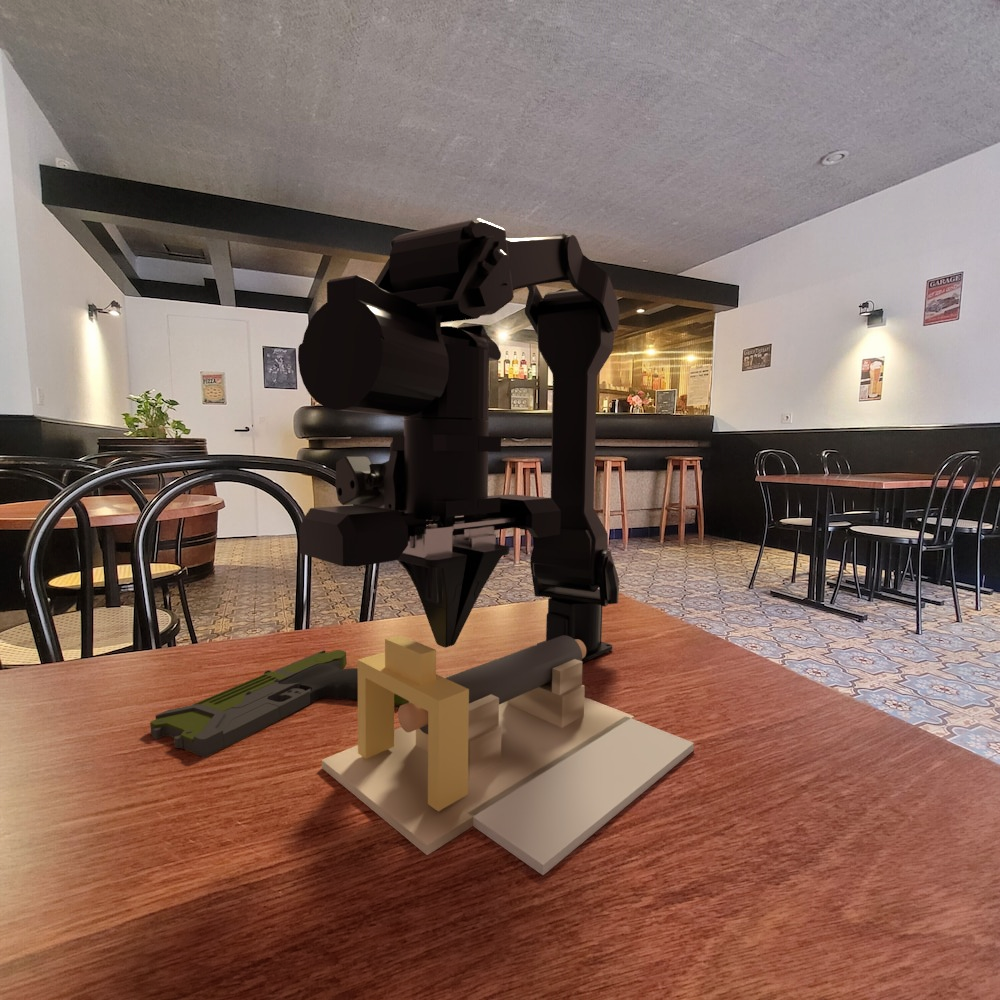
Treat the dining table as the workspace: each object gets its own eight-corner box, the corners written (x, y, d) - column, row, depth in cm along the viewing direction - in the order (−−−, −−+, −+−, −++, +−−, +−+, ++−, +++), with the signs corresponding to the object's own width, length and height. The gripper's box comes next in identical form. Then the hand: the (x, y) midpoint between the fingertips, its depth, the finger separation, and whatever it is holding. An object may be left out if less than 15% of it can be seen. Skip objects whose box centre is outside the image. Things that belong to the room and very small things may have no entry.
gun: (269, 801, 37) (141, 745, 44) (435, 690, 53) (323, 663, 60) (267, 764, 36) (139, 714, 44) (435, 665, 53) (322, 641, 60)
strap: (386, 741, 41) (386, 624, 41) (467, 794, 35) (469, 657, 34) (357, 753, 40) (357, 632, 39) (438, 811, 33) (439, 668, 33)
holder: (527, 680, 55) (528, 629, 54) (633, 723, 47) (636, 663, 46) (321, 767, 39) (321, 697, 39) (427, 855, 31) (427, 766, 30)
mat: (625, 722, 47) (625, 716, 47) (693, 750, 42) (693, 742, 42) (467, 822, 34) (467, 812, 34) (542, 875, 30) (543, 864, 30)
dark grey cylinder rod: (563, 661, 52) (564, 627, 51) (592, 671, 49) (593, 636, 49) (391, 732, 38) (391, 687, 38) (420, 750, 36) (420, 703, 35)
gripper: (468, 428, 50) (466, 598, 51) (258, 417, 36) (264, 648, 38) (567, 425, 42) (562, 626, 43) (346, 411, 29) (349, 701, 30)
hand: (445, 645), depth 39 cm, fingers closed
